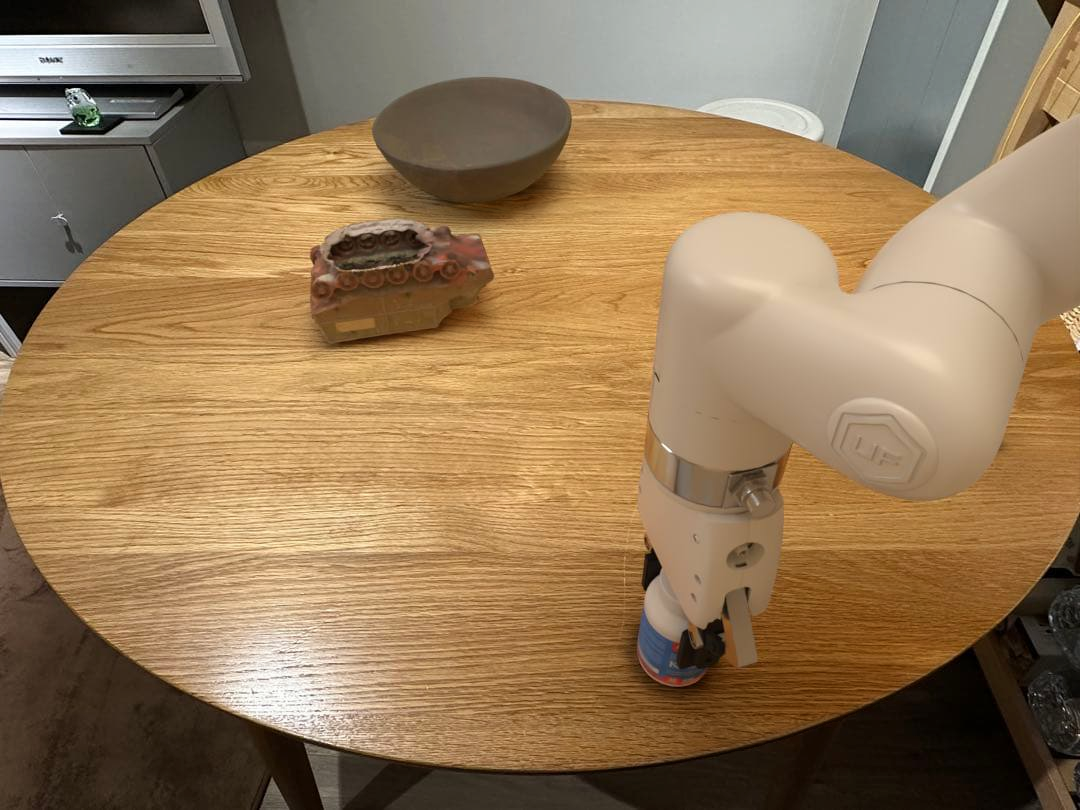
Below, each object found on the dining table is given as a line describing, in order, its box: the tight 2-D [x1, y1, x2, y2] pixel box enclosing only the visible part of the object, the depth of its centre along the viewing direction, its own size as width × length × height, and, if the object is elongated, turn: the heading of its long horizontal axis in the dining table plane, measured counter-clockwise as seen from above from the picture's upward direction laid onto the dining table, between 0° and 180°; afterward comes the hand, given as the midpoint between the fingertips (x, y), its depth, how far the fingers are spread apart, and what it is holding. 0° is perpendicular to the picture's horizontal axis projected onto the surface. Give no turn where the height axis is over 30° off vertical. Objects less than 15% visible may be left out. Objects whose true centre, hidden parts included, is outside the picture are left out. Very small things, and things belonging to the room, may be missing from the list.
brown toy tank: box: [309, 217, 495, 345], centre depth 84 cm, size 13×20×10 cm, turn 96°
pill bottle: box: [636, 568, 721, 688], centre depth 54 cm, size 6×5×10 cm
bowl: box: [371, 76, 573, 205], centre depth 105 cm, size 26×26×10 cm
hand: (680, 619), depth 54 cm, fingers closed on pill bottle, 5 cm apart
